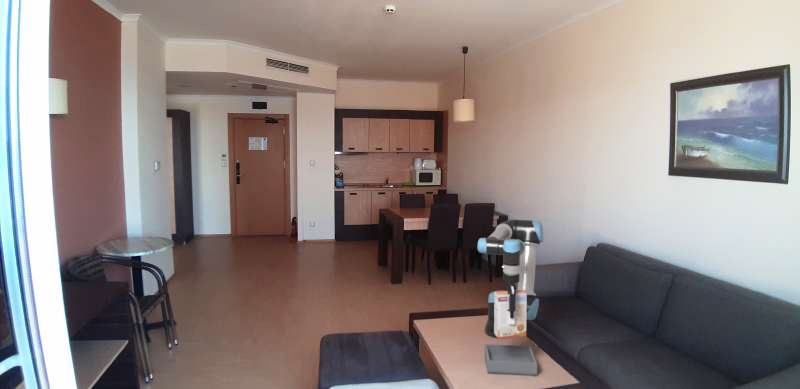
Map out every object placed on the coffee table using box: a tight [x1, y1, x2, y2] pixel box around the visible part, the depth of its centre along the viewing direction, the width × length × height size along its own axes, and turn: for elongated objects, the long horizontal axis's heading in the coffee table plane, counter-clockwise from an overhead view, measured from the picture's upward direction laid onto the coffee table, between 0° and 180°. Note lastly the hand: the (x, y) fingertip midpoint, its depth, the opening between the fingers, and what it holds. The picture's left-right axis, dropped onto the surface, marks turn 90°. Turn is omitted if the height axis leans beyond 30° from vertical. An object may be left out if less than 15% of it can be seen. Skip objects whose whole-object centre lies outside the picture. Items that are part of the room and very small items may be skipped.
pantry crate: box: [484, 343, 538, 377], centre depth 210 cm, size 18×22×6 cm
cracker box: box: [493, 289, 527, 339], centre depth 207 cm, size 14×6×21 cm, turn 98°
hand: (510, 320), depth 208 cm, fingers closed on cracker box, 7 cm apart
